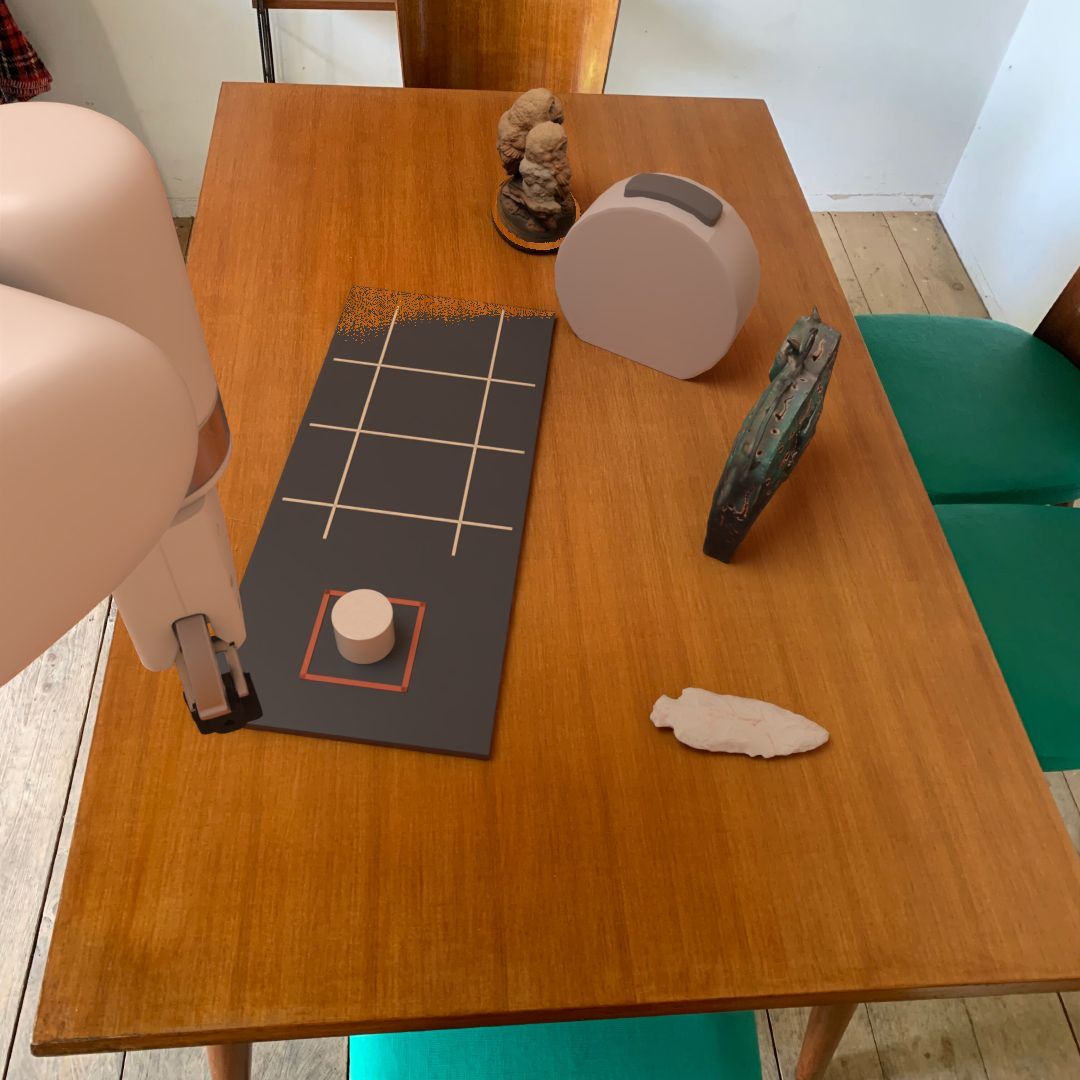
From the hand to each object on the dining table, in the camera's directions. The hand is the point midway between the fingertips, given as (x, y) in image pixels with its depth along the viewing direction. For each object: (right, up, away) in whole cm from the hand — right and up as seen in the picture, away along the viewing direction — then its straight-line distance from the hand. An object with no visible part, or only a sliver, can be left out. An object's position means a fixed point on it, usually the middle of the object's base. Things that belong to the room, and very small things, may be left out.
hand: (215, 646), depth 51 cm
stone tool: (+35, -10, +27) cm, 45 cm away
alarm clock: (+30, +29, +56) cm, 70 cm away
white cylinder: (+3, -3, +28) cm, 28 cm away
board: (+5, +12, +40) cm, 42 cm away
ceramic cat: (+39, +10, +43) cm, 59 cm away
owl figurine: (+18, +48, +69) cm, 86 cm away
